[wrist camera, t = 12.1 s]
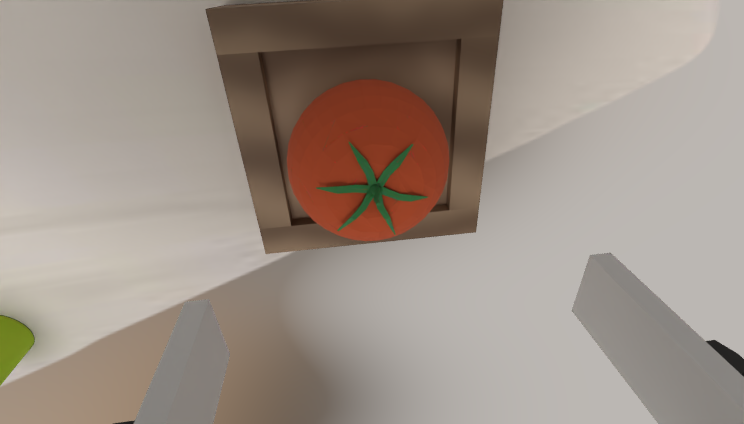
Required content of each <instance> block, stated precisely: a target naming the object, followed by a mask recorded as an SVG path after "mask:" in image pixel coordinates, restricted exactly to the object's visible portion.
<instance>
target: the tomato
mask: <svg viewBox="0 0 744 424" xmlns="http://www.w3.org/2000/svg"><path fill="white" fill-rule="evenodd" d="M287 168H288V176H289V181H290V184H291V187H292V190H293V193H294V195H295V196H296V198H297V200H298V201H299V203H300V205H301V206H302V208H303V209H304V211H305V212H306V213H307V214H308V215H309V216H310V217H311V218H312V220H313V221H315V222H316V223H317V224H319V225H320V226H322V227H323V228H324V229H326V230H328V231H330V232H332V233H334V234H336V235H339V236H341V237H345V238H348V239H352V240H360V241H377V240H383V239H388V238H392V237H394V236H397V235H399V234H402V233H404V232H406V231H408V230H409V229H411V228H413V227H414V226H416V225H417V224H418V223H419V222H420V221H422V220H423V219H424V218H425V217H426V216H427V214H428V213H429V212H430V211H431V210H432V208H433V207H434V206H435V205H436V203H437V201H438V200H439V198H440V196H441V194H442V193H443V190H444V187H445V184H446V181H447V176H448V168H449V148H448V142H447V139H446V136H445V133H444V130H443V128H442V125H441V123H440V122H439V120H438V118H437V116H436V115H435V113H434V111H433V110H432V109H431V108H430V107H429V106H428V105H427V104H426V103H425V101H424V100H423V99H421V98H420V97H418V96H417V95H415V94H414V93H413V92H411V91H410V90H408V89H406V88H404V87H401V86H399V85H397V84H394V83H392V82H388V81H382V80H377V79H359V80H354V81H350V82H345V83H342V84H339V85H337V86H335V87H333V88H331V89H328V90H327V91H325V92H324V93H322V94H321V95H320V96H318V97H317V98H316V99H314V100H313V101H312V103H311V104H310V105H309V106H308V107H307V108H306V109H305V110H304V111H303V113H302V115H301V116H300V118H299V120H298V121H297V123H296V125H295V127H294V128H293V131H292V134H291V137H290V140H289V143H288V152H287Z"/></svg>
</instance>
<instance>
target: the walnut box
mask: <svg viewBox="0 0 744 424" xmlns="http://www.w3.org/2000/svg"><path fill="white" fill-rule="evenodd" d="M502 8H503V0H307V1H290V2H273V3H256V4H239V5H224V6H219V7H214V8H209V9H206V14H207V18H208V22H209V26H210V30H211V34H212V38H213V42H214V46H215V50H216V54H217V58H218V62H219V66H220V70H221V74H222V78H223V82H224V86H225V91H226V95H227V99H228V103H229V107H230V111H231V115H232V119H233V123H234V127H235V131H236V135H237V139H238V143H239V147H240V151H241V155H242V159H243V164H244V168H245V172H246V176H247V180H248V184H249V188H250V192H251V196H252V200H253V204H254V208H255V212H256V216H257V220H258V224H259V228H260V232H261V236H262V241H263V245H264V249H265V253H266V254H270V253H279V252H289V251H299V250H308V249H317V248H328V247H337V246H347V245H356V244H366V243H376V242H386V241H396V240H405V239H415V238H425V237H434V236H443V235H454V234H462V233H473V232H476V227H477V218H478V210H479V202H480V193H481V185H482V177H483V168H484V160H485V151H486V143H487V134H488V126H489V117H490V109H491V101H492V92H493V84H494V75H495V67H496V58H497V50H498V41H499V33H500V24H501V16H502ZM359 79H377V80H382V81H388V82H392V83H394V84H397V85H399V86H401V87H404V88H406V89H408V90H410V91H411V92H413V93H414V94H415V95H417V96H418V97H420V98H421V99H423V100H424V101H425V103H426V104H427V105H428V106H429V107H430V108H431V109H432V110H433V111H434V113H435V115H436V116H437V118H438V120H439V122H440V123H441V125H442V128H443V130H444V133H445V136H446V139H447V142H448V148H449V168H448V176H447V181H446V184H445V187H444V190H443V193H442V194H441V196H440V198H439V200H438V201H437V203H436V205H435V206H434V207H433V208H432V210H431V211H430V212H429V213H428V214H427V216H426V217H425V218H424V219H423V220H422V221H420V222H419V223H418V224H417V225H416V226H414V227H413V228H411V229H409V230H408V231H406V232H404V233H402V234H399V235H397V236H394V237H392V238H388V239H383V240H377V241H360V240H352V239H348V238H345V237H341V236H339V235H336V234H334V233H332V232H330V231H328V230H326V229H324V228H323V227H322V226H320V225H319V224H317V223H316V222H315V221H313V220H312V218H311V217H310V216H309V215H308V214H307V213H306V212H305V211H304V209H303V208H302V206H301V205H300V203H299V201H298V200H297V198H296V196H295V195H294V193H293V190H292V187H291V184H290V181H289V176H288V168H287V152H288V143H289V140H290V137H291V134H292V131H293V128H294V127H295V125H296V123H297V121H298V120H299V118H300V116H301V115H302V113H303V111H304V110H305V109H306V108H307V107H308V106H309V105H310V104H311V103H312V101H313V100H314V99H316V98H317V97H318V96H320V95H321V94H322V93H324V92H325V91H327V90H328V89H331V88H333V87H335V86H337V85H339V84H342V83H345V82H350V81H354V80H359Z"/></svg>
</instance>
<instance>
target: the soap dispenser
mask: <svg viewBox="0 0 744 424" xmlns="http://www.w3.org/2000/svg"><path fill="white" fill-rule="evenodd" d="M33 344H34V336H33V334H32V332H31V331H30V330H29V329H28V328H27V327H26V326H25V325H23V324H22V323H20V322H18V321H16V320H14V319H11V318H8V317H5V316H0V385H1V384H2V383H3V382H4V380H5V379H6V378H7V377H8V375H9V374H10V373H11V372H12V370H13V369H14V368H15V367H16V366H17V364H18V363H19V362H20V361H21V359H22V358H23V357H24V356H25V354H26V353H27V352H28V351H29V349H30V348H31V347H32V346H33Z"/></svg>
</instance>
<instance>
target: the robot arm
mask: <svg viewBox="0 0 744 424" xmlns="http://www.w3.org/2000/svg"><path fill="white" fill-rule="evenodd" d="M572 312H573V313H574V314H575V315H576V317H577V318H578V319H579V321H580V322H581V323H582V325H583V326H584V327H585V328H586V330H587V331H588V332H589V334H590V335H591V336H592V338H593V339H594V340H595V342H596V343H597V344H598V345H599V347H600V348H601V349H602V350H603V352H604V353H605V355H606V356H607V357H608V359H609V360H610V361H611V362H612V364H613V365H614V366H615V367H616V369H617V370H618V372H619V373H620V374H621V376H622V377H623V378H624V379H625V381H626V382H627V383H628V385H629V386H630V387H631V389H632V390H633V391H634V392H635V394H636V395H637V396H638V398H639V399H640V400H641V402H642V403H643V404H644V406H645V407H646V408H647V409H648V411H649V412H650V413H651V415H652V416H653V417H654V418H655V420H656V421H657V422H658V424H744V359H743V358H742V357H741V356H740V355H738V354H737V353H736V352H734V351H732V350H730V349H729V348H727V347H726V346H724V345H722V344H721V343H719V342H717V341H716V340H711V341H705V340H704V339H703V338H701V337H700V336H699V335H698V334H697V333H696V332H695V331H694V330H693V329H692V328H691V327H690V326H689V325H687V324H686V323H685V322H684V321H683V320H682V319H681V318H680V317H679V316H678V315H677V314H676V313H675V312H674V311H672V310H671V309H670V308H669V307H668V306H667V305H666V304H665V303H664V302H663V301H662V300H661V299H660V298H658V297H657V296H656V295H655V294H654V293H653V292H652V291H651V290H650V289H649V288H648V287H647V286H646V285H644V284H643V283H642V282H641V281H640V280H639V279H638V278H637V277H636V276H635V275H634V274H633V273H632V272H631V271H629V270H628V269H627V268H626V267H625V266H624V265H623V264H622V263H621V262H620V261H619V260H618V259H617V258H616V257H615V256H613V255H612V254H611V253H604V254H596V255H590V257H589V260H588V263H587V266H586V269H585V272H584V275H583V278H582V281H581V284H580V287H579V290H578V293H577V296H576V299H575V302H574V305H573V309H572ZM229 356H230V353H229V350H228V348H227V345H226V342H225V340H224V337H223V334H222V332H221V329H220V327H219V324H218V321H217V319H216V316H215V313H214V311H213V308H212V305H211V303H210V300H209V299H208V300H199V301H190V302H185V303H184V306H183V308H182V310H181V313H180V315H179V318H178V320H177V323H176V325H175V327H174V329H173V332H172V334H171V336H170V339H169V341H168V344H167V346H166V348H165V351H164V353H163V355H162V358H161V360H160V362H159V365H158V367H157V370H156V372H155V374H154V377H153V379H152V382H151V384H150V386H149V388H148V391H147V393H146V396H145V398H144V400H143V403H142V405H141V408H140V410H139V412H138V414H137V417H136V419H135V421H129V422H121V423H115V424H213V422H214V418H215V414H216V409H217V405H218V401H219V397H220V393H221V389H222V385H223V381H224V377H225V372H226V368H227V364H228V360H229Z"/></svg>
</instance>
